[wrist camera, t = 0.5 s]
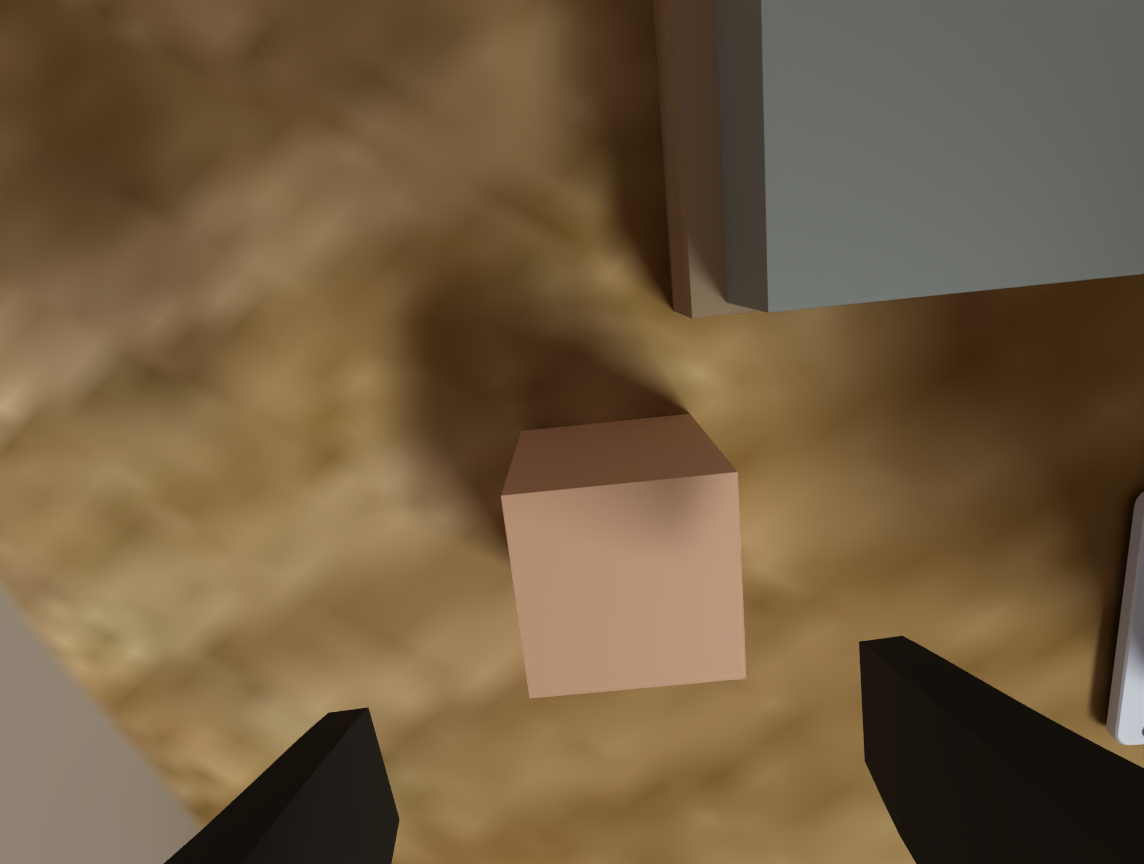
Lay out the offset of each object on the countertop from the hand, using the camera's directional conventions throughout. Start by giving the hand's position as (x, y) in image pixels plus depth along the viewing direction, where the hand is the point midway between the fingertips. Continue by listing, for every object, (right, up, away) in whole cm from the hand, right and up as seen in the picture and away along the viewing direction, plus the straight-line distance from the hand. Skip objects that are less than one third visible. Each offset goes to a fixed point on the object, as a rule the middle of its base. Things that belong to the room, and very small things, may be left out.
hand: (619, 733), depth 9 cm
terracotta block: (0, +3, +8) cm, 9 cm away
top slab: (+6, +11, +3) cm, 13 cm away
